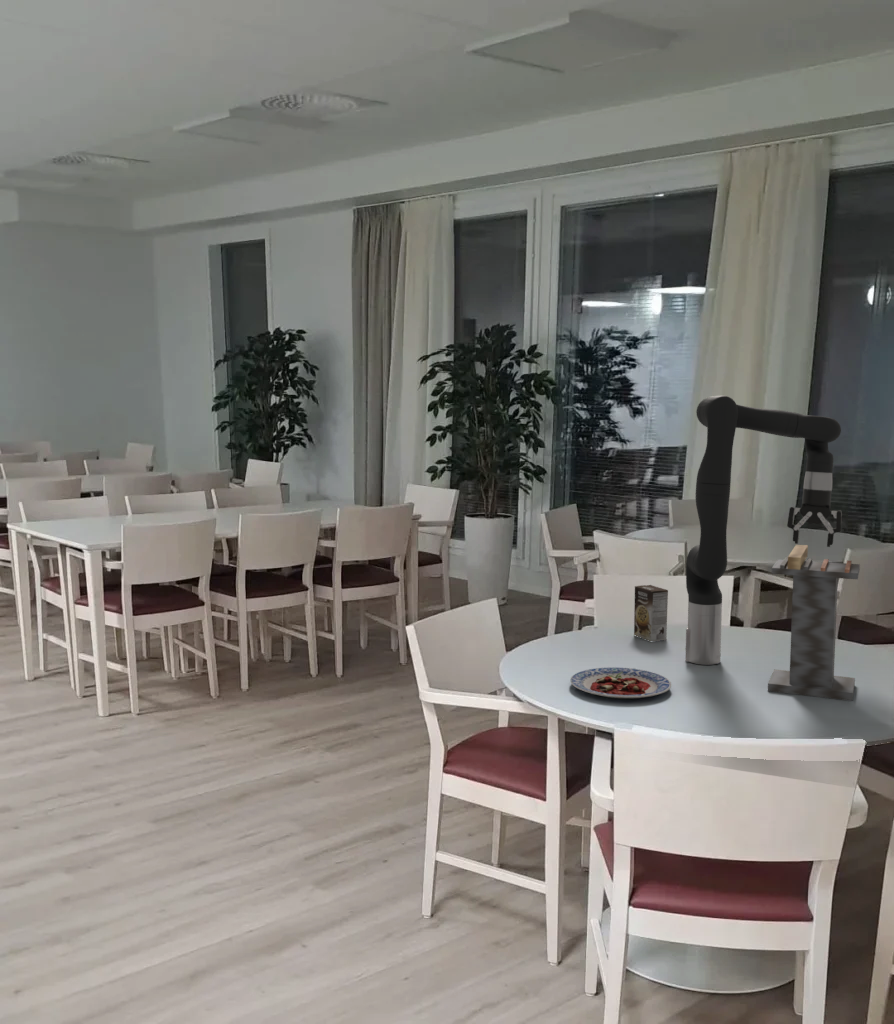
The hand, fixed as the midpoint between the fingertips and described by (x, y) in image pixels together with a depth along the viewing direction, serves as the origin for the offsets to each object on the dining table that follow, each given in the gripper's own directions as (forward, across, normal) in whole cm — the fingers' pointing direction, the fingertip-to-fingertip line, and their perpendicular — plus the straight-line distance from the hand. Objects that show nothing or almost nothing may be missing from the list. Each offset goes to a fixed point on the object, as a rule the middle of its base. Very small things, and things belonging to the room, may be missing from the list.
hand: (812, 545), depth 270 cm
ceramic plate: (+38, -40, -48) cm, 73 cm away
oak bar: (+3, -1, -26) cm, 26 cm away
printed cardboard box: (+35, -46, +6) cm, 58 cm away
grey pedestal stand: (+34, +5, -28) cm, 45 cm away
